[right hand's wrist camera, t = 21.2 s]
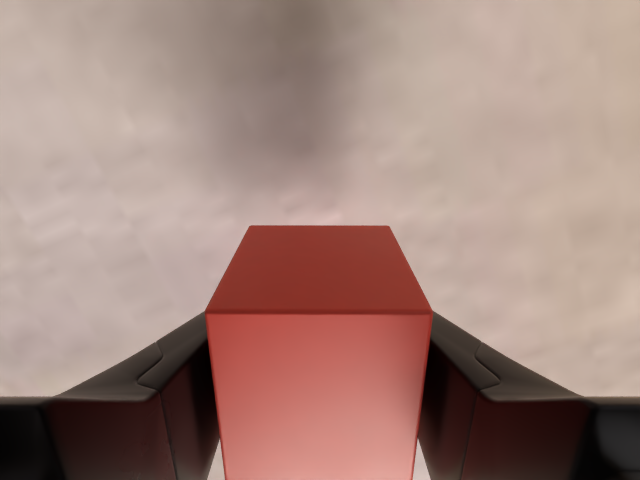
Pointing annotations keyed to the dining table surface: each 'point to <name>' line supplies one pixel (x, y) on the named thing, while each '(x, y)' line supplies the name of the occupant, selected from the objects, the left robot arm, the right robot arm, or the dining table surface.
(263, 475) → the brick
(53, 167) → the dining table surface
